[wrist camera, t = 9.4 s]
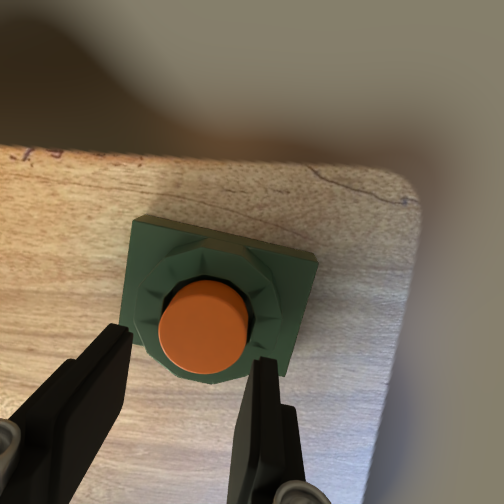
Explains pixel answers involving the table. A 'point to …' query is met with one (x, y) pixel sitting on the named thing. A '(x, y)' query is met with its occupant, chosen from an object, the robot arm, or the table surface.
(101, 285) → the table surface
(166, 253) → the box
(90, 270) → the table surface
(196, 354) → the release button
